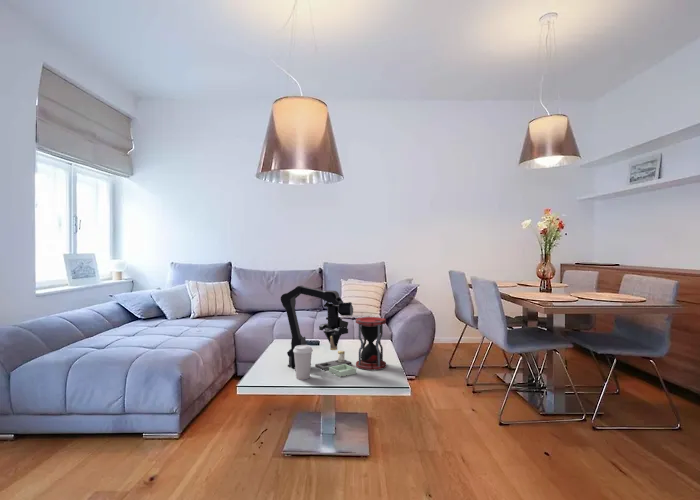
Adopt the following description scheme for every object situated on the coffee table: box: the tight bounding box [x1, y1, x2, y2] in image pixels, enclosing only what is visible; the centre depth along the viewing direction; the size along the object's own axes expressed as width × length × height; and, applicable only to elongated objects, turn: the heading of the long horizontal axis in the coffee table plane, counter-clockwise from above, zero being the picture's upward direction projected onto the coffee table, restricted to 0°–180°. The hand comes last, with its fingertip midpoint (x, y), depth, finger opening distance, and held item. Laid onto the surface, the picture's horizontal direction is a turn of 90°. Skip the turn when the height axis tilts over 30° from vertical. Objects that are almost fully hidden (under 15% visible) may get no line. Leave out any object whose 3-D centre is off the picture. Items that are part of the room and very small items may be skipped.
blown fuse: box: [329, 336, 338, 351], centre depth 213 cm, size 4×4×7 cm
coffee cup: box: [293, 344, 313, 381], centre depth 201 cm, size 10×10×15 cm
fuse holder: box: [314, 359, 353, 371], centre depth 220 cm, size 18×8×1 cm, turn 126°
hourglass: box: [355, 316, 387, 371], centre depth 220 cm, size 16×16×25 cm
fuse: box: [337, 350, 346, 363], centre depth 223 cm, size 4×4×7 cm
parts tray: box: [328, 364, 357, 378], centre depth 208 cm, size 10×10×2 cm
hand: (333, 345), depth 213 cm, fingers closed on blown fuse, 4 cm apart
